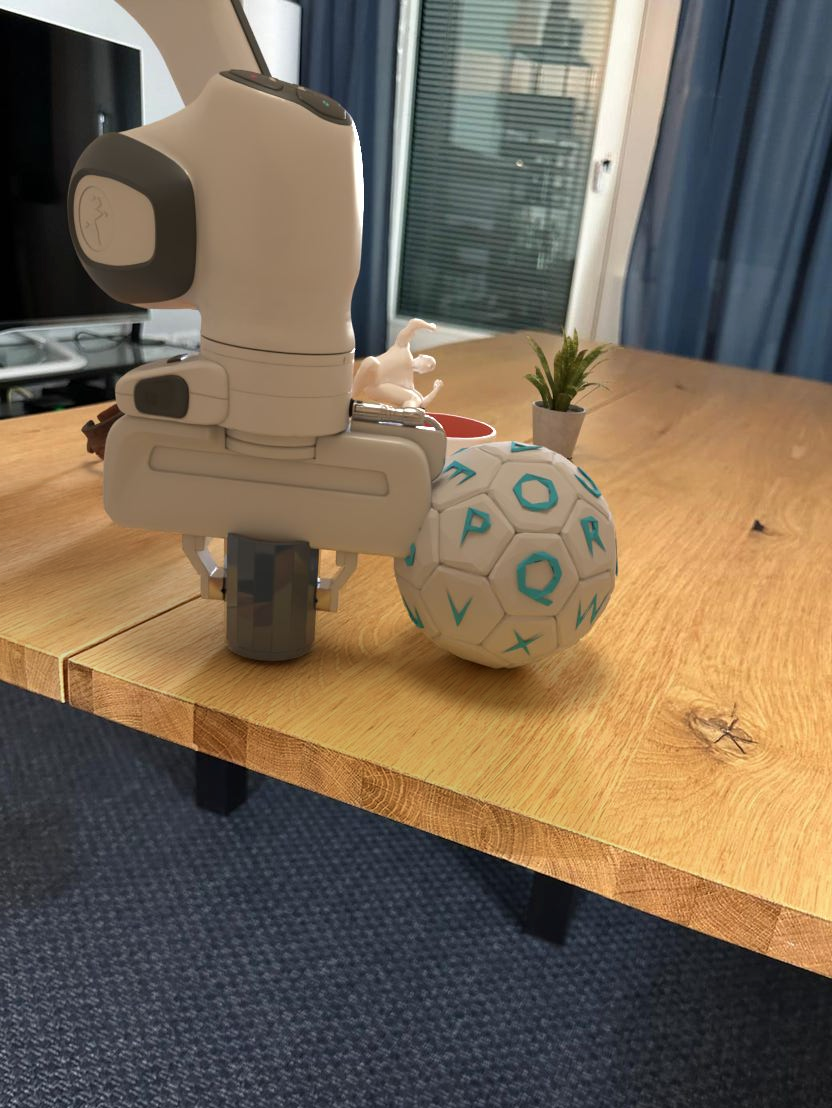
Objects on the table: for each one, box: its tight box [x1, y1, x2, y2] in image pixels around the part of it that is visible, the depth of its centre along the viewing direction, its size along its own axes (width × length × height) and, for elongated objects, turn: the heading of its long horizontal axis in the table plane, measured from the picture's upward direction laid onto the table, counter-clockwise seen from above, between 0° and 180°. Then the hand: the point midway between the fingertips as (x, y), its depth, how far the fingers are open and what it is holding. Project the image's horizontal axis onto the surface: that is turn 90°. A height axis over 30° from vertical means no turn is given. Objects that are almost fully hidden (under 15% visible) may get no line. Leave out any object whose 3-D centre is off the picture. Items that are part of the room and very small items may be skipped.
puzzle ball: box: [393, 440, 619, 670], centre depth 62 cm, size 15×15×15 cm
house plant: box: [521, 324, 631, 459], centre depth 118 cm, size 14×14×16 cm
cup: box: [390, 412, 497, 459], centre depth 86 cm, size 10×10×10 cm
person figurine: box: [351, 317, 444, 409], centre depth 132 cm, size 13×13×18 cm
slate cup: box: [222, 533, 322, 662], centre depth 60 cm, size 6×6×8 cm
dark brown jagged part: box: [80, 403, 125, 461], centre depth 95 cm, size 12×10×8 cm
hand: (270, 602), depth 61 cm, fingers closed on slate cup, 6 cm apart
